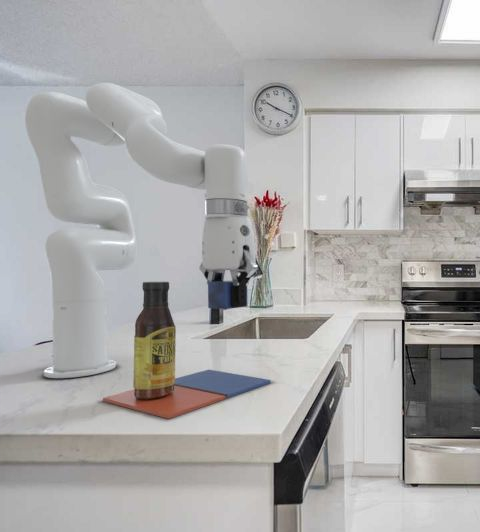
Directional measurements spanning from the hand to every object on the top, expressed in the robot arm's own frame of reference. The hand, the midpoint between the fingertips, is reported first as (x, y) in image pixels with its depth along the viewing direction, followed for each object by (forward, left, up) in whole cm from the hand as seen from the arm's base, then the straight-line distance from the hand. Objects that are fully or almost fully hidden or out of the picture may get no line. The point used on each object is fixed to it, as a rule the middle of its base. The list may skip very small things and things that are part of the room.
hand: (228, 305), depth 80 cm
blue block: (0, 0, 0) cm, 0 cm away
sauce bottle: (-5, -11, -15) cm, 19 cm away
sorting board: (-3, -6, -16) cm, 17 cm away
